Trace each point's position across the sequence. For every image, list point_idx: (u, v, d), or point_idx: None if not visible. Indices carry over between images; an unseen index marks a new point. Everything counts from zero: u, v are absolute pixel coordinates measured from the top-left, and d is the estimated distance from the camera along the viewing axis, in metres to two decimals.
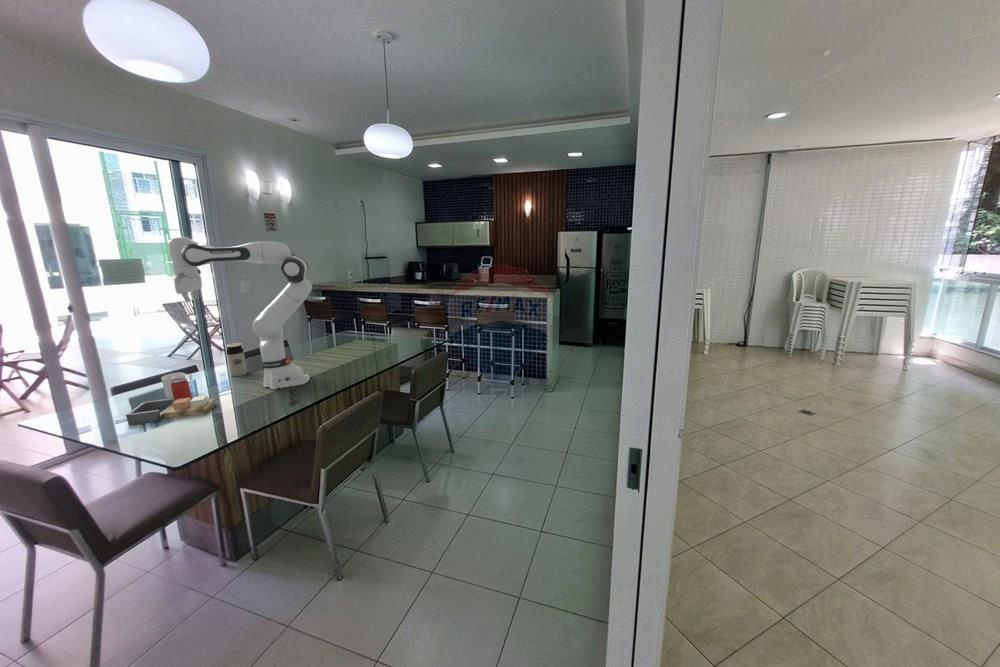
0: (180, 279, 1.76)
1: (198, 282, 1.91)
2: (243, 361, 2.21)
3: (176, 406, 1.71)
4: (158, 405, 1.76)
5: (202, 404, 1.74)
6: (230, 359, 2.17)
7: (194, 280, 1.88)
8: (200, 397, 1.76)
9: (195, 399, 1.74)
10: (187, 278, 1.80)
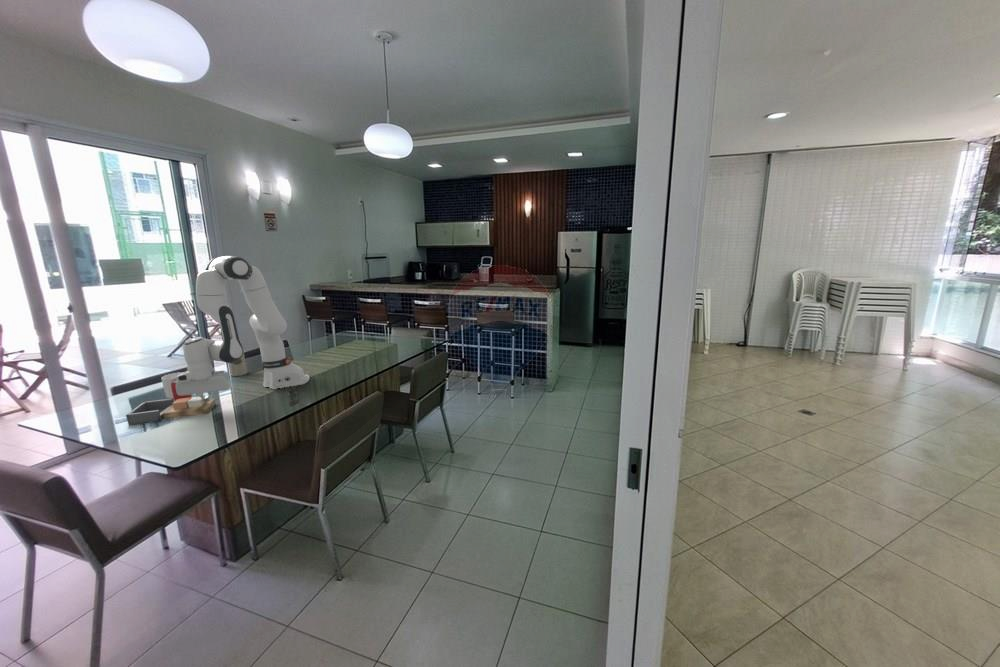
0: None
1: None
2: (243, 361, 2.21)
3: (176, 406, 1.71)
4: (158, 405, 1.76)
5: (200, 404, 1.74)
6: None
7: None
8: (198, 397, 1.76)
9: (193, 399, 1.74)
10: None
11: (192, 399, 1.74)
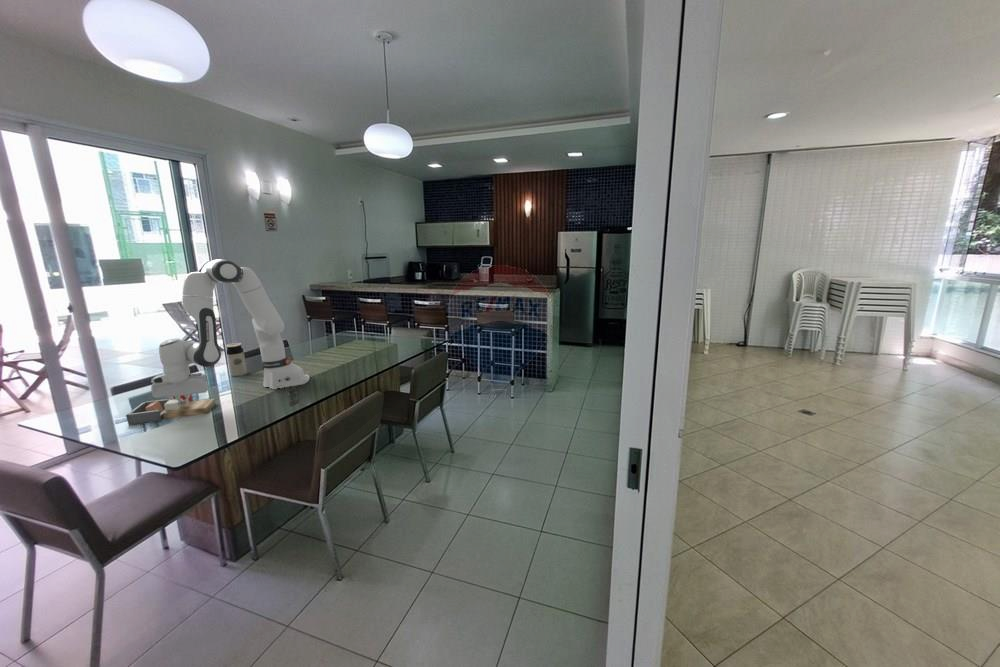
0: None
1: None
2: (243, 361, 2.21)
3: None
4: None
5: (177, 407, 1.71)
6: (230, 359, 2.17)
7: None
8: (175, 400, 1.73)
9: (170, 402, 1.71)
10: None
11: (169, 402, 1.72)
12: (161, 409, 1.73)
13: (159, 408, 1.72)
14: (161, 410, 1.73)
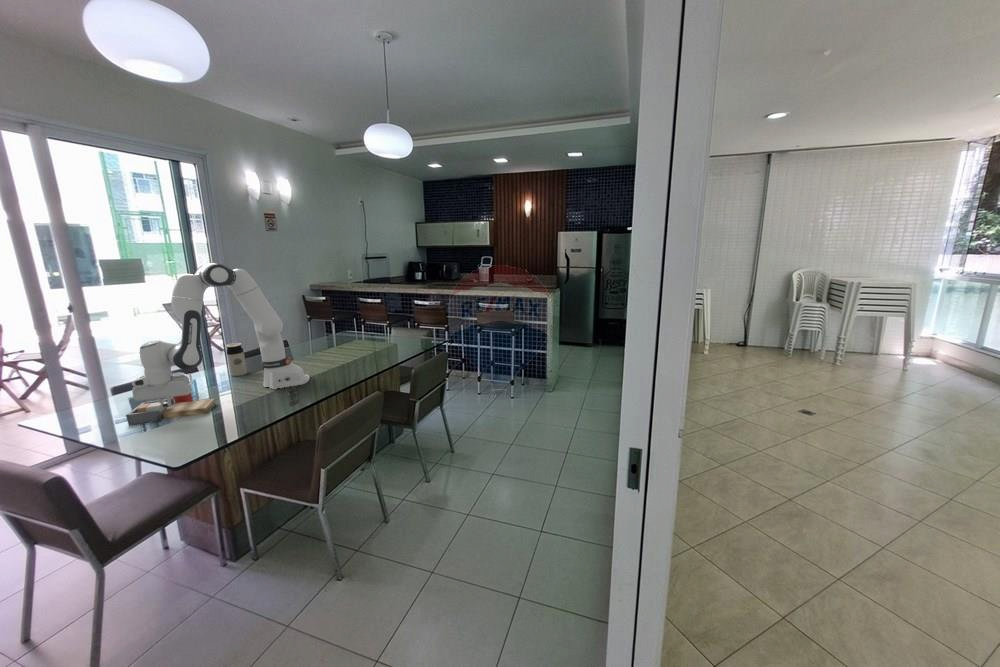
0: None
1: None
2: (243, 361, 2.21)
3: None
4: None
5: (159, 410, 1.70)
6: (230, 359, 2.17)
7: None
8: (157, 403, 1.72)
9: (151, 405, 1.69)
10: None
11: (151, 405, 1.70)
12: None
13: None
14: None
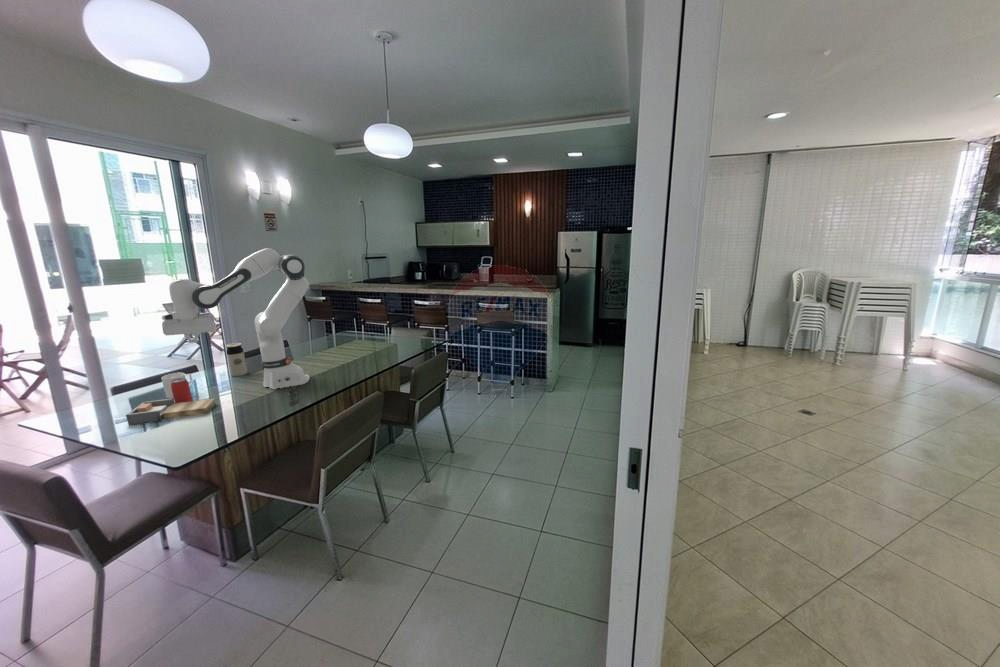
0: None
1: None
2: (243, 361, 2.21)
3: None
4: (158, 405, 1.76)
5: None
6: (230, 359, 2.17)
7: None
8: (159, 407, 1.72)
9: (153, 409, 1.70)
10: None
11: (152, 409, 1.70)
12: None
13: None
14: None
